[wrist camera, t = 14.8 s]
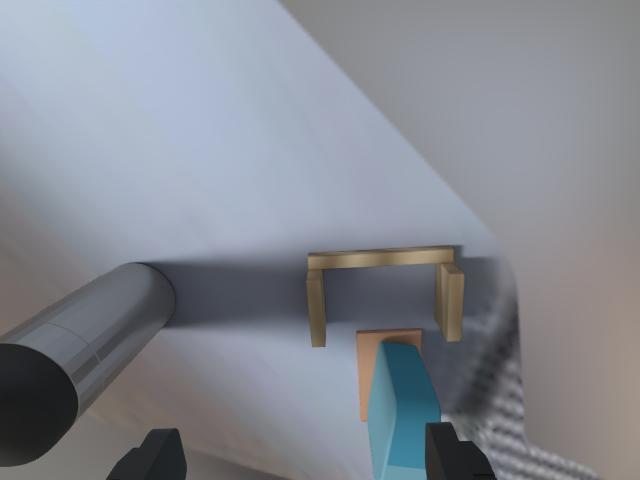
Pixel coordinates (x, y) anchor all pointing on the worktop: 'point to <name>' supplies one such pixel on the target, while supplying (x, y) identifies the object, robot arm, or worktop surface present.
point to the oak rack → (446, 270)
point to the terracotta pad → (367, 356)
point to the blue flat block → (400, 413)
